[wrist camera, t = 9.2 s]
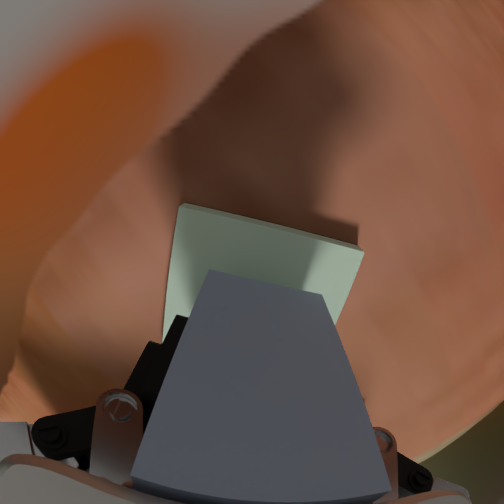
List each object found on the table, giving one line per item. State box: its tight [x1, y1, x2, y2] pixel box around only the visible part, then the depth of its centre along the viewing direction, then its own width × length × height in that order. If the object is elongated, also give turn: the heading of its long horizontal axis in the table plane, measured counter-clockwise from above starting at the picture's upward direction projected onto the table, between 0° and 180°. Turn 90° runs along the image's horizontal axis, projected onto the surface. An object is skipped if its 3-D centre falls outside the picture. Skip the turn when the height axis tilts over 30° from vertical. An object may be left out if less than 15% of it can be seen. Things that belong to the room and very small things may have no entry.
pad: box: [162, 203, 365, 343], centre depth 14 cm, size 9×9×1 cm
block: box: [130, 269, 392, 504], centre depth 8 cm, size 5×5×9 cm
